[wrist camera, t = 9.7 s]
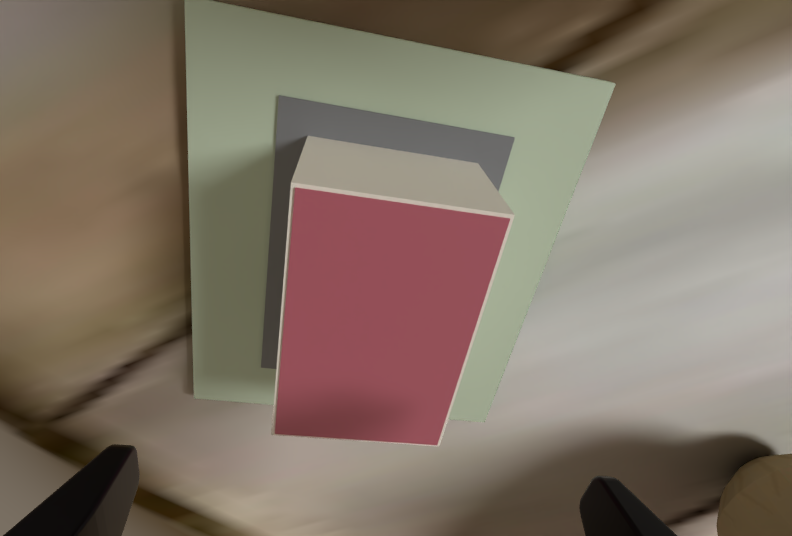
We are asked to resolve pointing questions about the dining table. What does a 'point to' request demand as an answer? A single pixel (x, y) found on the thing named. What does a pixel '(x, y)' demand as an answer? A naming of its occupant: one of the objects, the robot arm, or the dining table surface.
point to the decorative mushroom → (758, 499)
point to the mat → (368, 125)
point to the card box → (382, 291)
